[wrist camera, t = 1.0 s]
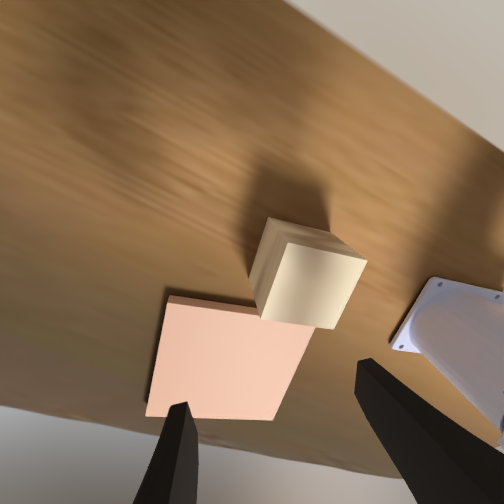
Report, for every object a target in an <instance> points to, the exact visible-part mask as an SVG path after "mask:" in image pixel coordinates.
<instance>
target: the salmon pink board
mask: <svg viewBox="0 0 504 504" xmlns="http://www.w3.org/2000/svg"><path fill="white" fill-rule="evenodd" d="M314 329H315V327H312V326H305V325H298V324H291V323H283V322H276V321H269V320H262V319H260V317H259V313H258V310H257V308H253V307H246V306H240V305H233V304H226V303H220V302H213V301H206V300H200V299H193V298H186V297H180V296H173V295H169V298H168V302H167V307H166V313H165V318H164V323H163V328H162V333H161V338H160V343H159V348H158V354H157V359H156V364H155V369H154V374H153V379H152V384H151V390H150V395H149V400H148V405H147V410H146V415H145V416H154V417H167V414H168V411H169V408H170V406H171V405H174V404H178V403H182V402H186V401H188V405H189V408H190V411H191V414H192V417H193V418H216V419H246V420H273V418H274V416H275V414H276V412H277V410H278V408H279V405H280V403H281V401H282V399H283V397H284V394H285V392H286V390H287V388H288V386H289V384H290V381H291V379H292V377H293V375H294V373H295V371H296V368H297V366H298V364H299V362H300V360H301V357H302V355H303V353H304V351H305V349H306V347H307V344H308V342H309V340H310V338H311V336H312V333H313V331H314Z"/></svg>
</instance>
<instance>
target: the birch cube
mask: <svg viewBox="0 0 504 504" xmlns="http://www.w3.org/2000/svg"><path fill="white" fill-rule="evenodd" d="M367 261H368V260H366V259H365V258H364V257H362V256H361V255H360V254H358V253H357V252H356V251H354V250H353V249H352V248H350V247H349V246H348V245H346V244H345V243H344V242H343V241H341V240H340V239H339V238H337V237H336V236H335V235H333V234H332V233H331V232H327V231H323V230H319V229H315V228H311V227H307V226H303V225H299V224H295V223H291V222H287V221H283V220H279V219H275V218H271V217H268V219H267V222H266V225H265V228H264V231H263V234H262V238H261V241H260V244H259V247H258V250H257V253H256V257H255V260H254V263H253V266H252V269H251V272H250V276H249V282H250V285H251V289H252V292H253V296H254V299H255V303H256V306H257V310H258V313H259V317H260V319H262V320H269V321H276V322H283V323H291V324H298V325H305V326H312V327H319V328H326V329H333V330H334V328H335V326H336V324H337V322H338V320H339V318H340V316H341V314H342V312H343V310H344V308H345V306H346V304H347V302H348V299H349V297H350V295H351V293H352V291H353V289H354V287H355V285H356V283H357V281H358V279H359V277H360V275H361V273H362V271H363V269H364V267H365V265H366V263H367Z"/></svg>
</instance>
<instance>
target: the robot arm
mask: <svg viewBox="0 0 504 504" xmlns="http://www.w3.org/2000/svg"><path fill="white" fill-rule="evenodd" d="M390 346H391V348H392V349H394V350H400V351H408V352H416V353H422V354H423V355H424V356H425V357H426V358H427V359H428V360H429V361H430V362H431V363H432V364H433V365H434V366H435V367H436V368H437V369H438V370H439V371H440V372H441V373H442V374H443V375H444V376H445V377H446V378H447V379H448V380H449V381H450V382H451V383H452V384H453V385H454V386H455V387H456V388H457V389H458V390H459V391H460V392H461V393H462V394H463V395H464V396H465V397H466V398H467V399H468V400H469V401H470V402H471V403H472V404H473V405H474V406H475V407H476V408H477V409H478V410H479V411H480V412H481V413H482V414H483V415H484V416H485V417H486V418H487V419H488V420H489V421H490V422H491V423H492V424H493V425H494V426H495V427H496V428H497V429H498V430H499V431H500V432H501V433H502V435H501V437H500V438H499V439H498V440H497V443H498V444H499V445H500V446H501V447H502V448H503V449H504V292H501V291H496V290H492V289H488V288H483V287H479V286H474V285H470V284H465V283H461V282H456V281H452V280H448V279H443V278H439V277H432V278H430V279H429V280H428V282H427V283H426V285H425V287H424V288H423V290H422V292H421V293H420V295H419V297H418V298H417V300H416V302H415V303H414V305H413V307H412V308H411V310H410V312H409V313H408V315H407V317H406V318H405V320H404V321H403V323H402V325H401V326H400V328H399V330H398V331H397V333H396V335H395V336H394V338H393V340H392V341H391V343H390ZM354 393H355V396H356V398H357V400H358V402H359V404H360V406H361V408H362V410H363V412H364V414H365V416H366V418H367V420H368V422H369V423H370V425H371V427H372V428H373V430H374V432H375V433H376V435H377V437H378V438H379V440H380V441H381V443H382V445H383V446H384V448H385V450H386V451H387V453H388V454H389V456H390V458H391V459H392V461H393V463H394V464H395V466H396V467H397V469H398V471H399V472H400V474H401V475H402V477H403V479H404V480H405V482H406V484H407V485H408V487H409V489H410V490H411V492H412V494H413V496H414V498H415V500H416V501H417V503H418V504H504V454H503V453H501V452H499V451H498V450H496V449H495V448H493V447H492V446H490V445H489V444H487V443H486V442H484V441H482V440H481V439H479V438H478V437H476V436H475V435H473V434H472V433H470V432H469V431H467V430H466V429H464V428H463V427H461V426H460V425H458V424H457V423H455V422H454V421H453V420H451V419H450V418H448V417H447V416H445V415H444V414H443V413H441V412H440V411H439V410H437V409H436V408H434V407H433V406H432V405H430V404H429V403H428V402H426V401H425V400H424V399H422V398H421V397H420V396H418V395H417V394H416V393H414V392H413V391H412V390H411V389H409V388H408V387H407V386H405V385H404V384H403V383H402V382H400V381H399V380H398V379H397V378H395V377H394V376H393V375H392V374H390V373H389V372H388V371H387V370H385V369H384V368H383V367H382V366H381V365H379V364H378V363H377V362H376V361H374V360H373V359H372V358H369V359H364V360H360V361H358V363H357V372H356V382H355V391H354ZM198 465H199V463H198V432H197V429H196V426H195V423H194V420H193V417H192V414H191V411H190V408H189V405H188V401H186V402H182V403H178V404H174V405H171V406H170V408H169V411H168V414H167V417H166V420H165V423H164V426H163V429H162V432H161V435H160V438H159V440H158V443H157V446H156V449H155V451H154V454H153V456H152V459H151V462H150V464H149V466H148V469H147V471H146V474H145V476H144V479H143V481H142V483H141V486H140V488H139V490H138V493H137V495H136V497H135V499H134V501H133V504H196V501H197V484H198Z"/></svg>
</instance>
